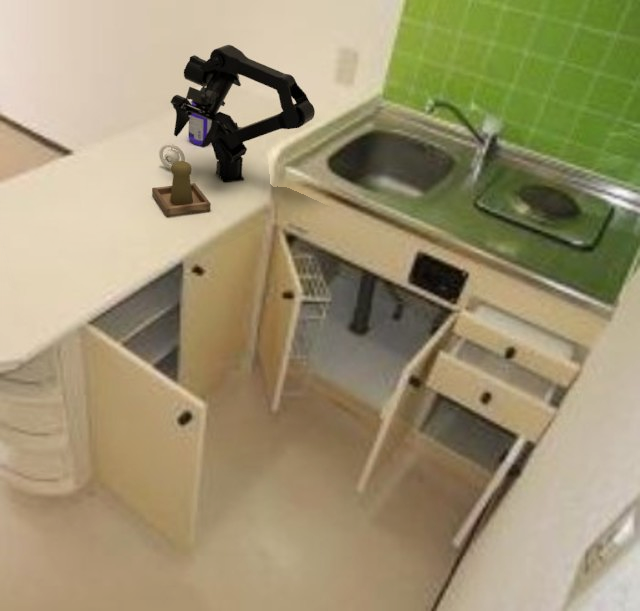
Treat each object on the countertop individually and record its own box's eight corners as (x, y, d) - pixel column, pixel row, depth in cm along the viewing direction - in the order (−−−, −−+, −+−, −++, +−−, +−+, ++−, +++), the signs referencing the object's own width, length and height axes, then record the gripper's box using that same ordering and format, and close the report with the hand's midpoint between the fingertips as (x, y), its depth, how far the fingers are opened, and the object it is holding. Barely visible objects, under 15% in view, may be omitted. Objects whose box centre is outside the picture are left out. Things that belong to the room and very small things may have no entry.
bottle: (214, 143, 207) (216, 90, 196) (202, 148, 203) (203, 94, 192) (197, 136, 209) (197, 83, 199) (185, 141, 205) (185, 87, 195)
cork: (189, 207, 170) (190, 169, 163) (167, 204, 170) (166, 166, 163) (195, 197, 175) (195, 160, 168) (173, 194, 175) (172, 156, 168)
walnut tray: (194, 191, 179) (194, 183, 178) (210, 211, 171) (210, 203, 170) (152, 196, 174) (152, 188, 172) (166, 217, 166) (166, 209, 164)
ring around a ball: (156, 168, 187) (156, 142, 183) (165, 161, 192) (165, 136, 187) (181, 175, 186) (181, 149, 181) (190, 168, 191) (190, 142, 186)
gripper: (175, 64, 169) (147, 115, 168) (233, 86, 164) (204, 138, 162) (193, 87, 180) (166, 135, 179) (248, 108, 174) (221, 158, 173)
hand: (188, 141), depth 173 cm, fingers open, 9 cm apart
